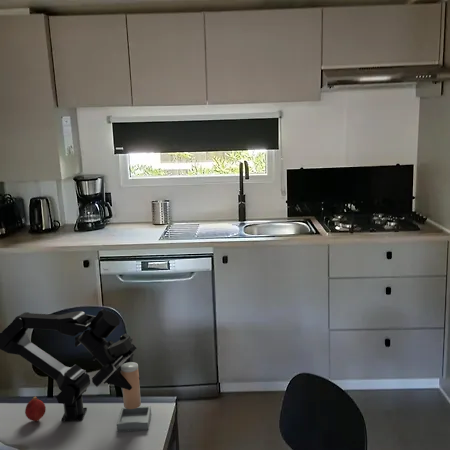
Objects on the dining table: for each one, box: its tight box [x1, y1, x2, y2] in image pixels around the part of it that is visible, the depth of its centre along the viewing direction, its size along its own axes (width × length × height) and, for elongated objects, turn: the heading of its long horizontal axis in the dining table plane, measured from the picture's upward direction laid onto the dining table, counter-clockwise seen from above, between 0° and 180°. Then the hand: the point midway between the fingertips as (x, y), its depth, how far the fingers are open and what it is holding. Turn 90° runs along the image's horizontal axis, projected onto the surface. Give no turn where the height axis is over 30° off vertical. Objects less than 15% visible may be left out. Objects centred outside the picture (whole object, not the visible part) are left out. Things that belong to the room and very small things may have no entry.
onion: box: [24, 396, 47, 422], centre depth 155 cm, size 6×6×8 cm
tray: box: [116, 405, 152, 433], centre depth 153 cm, size 9×9×2 cm
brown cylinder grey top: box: [121, 362, 142, 409], centre depth 151 cm, size 5×5×12 cm
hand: (135, 384), depth 150 cm, fingers closed on brown cylinder grey top, 5 cm apart
